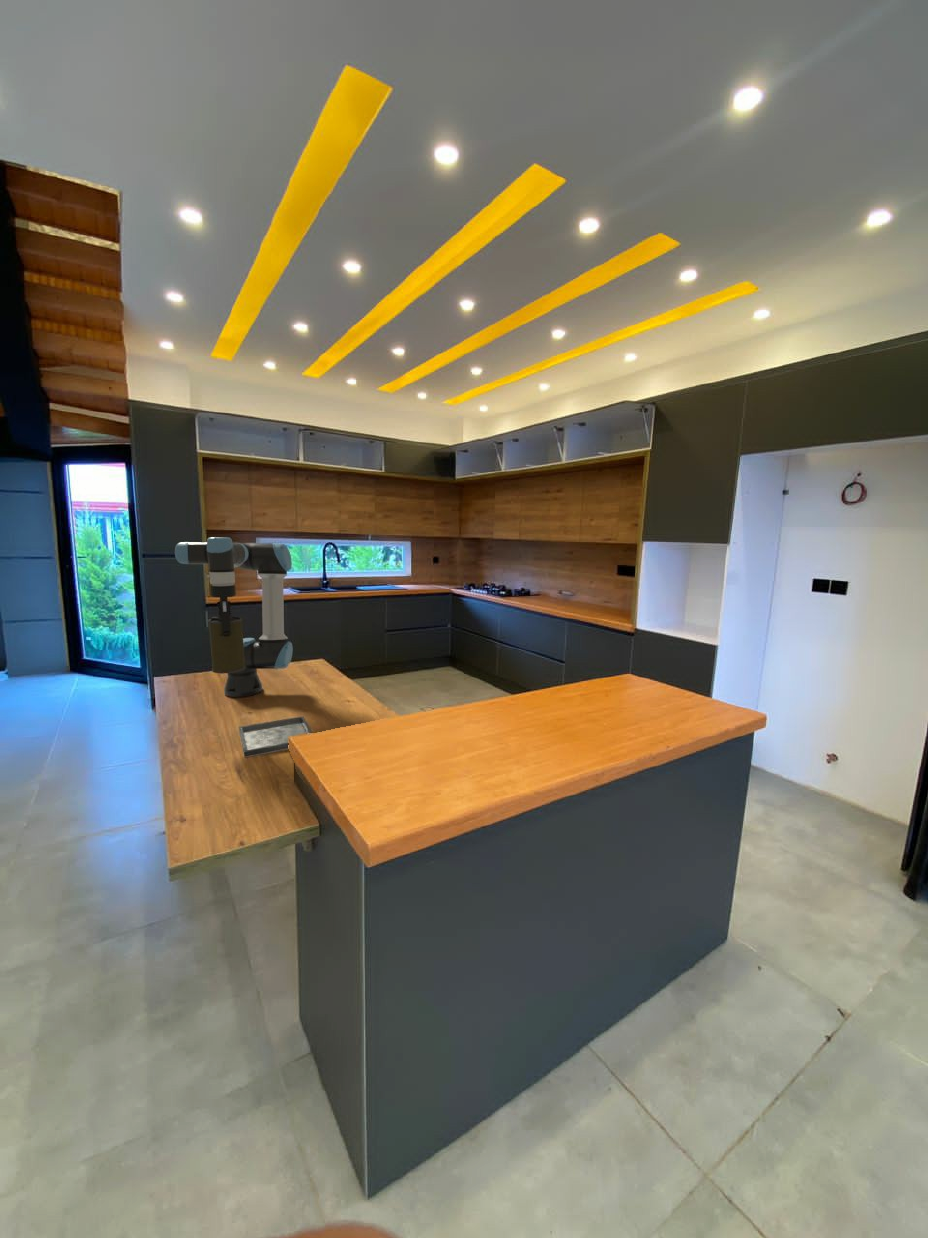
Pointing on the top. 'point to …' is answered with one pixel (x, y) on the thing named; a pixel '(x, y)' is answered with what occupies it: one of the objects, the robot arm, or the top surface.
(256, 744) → the shallow grey tray
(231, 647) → the canister
